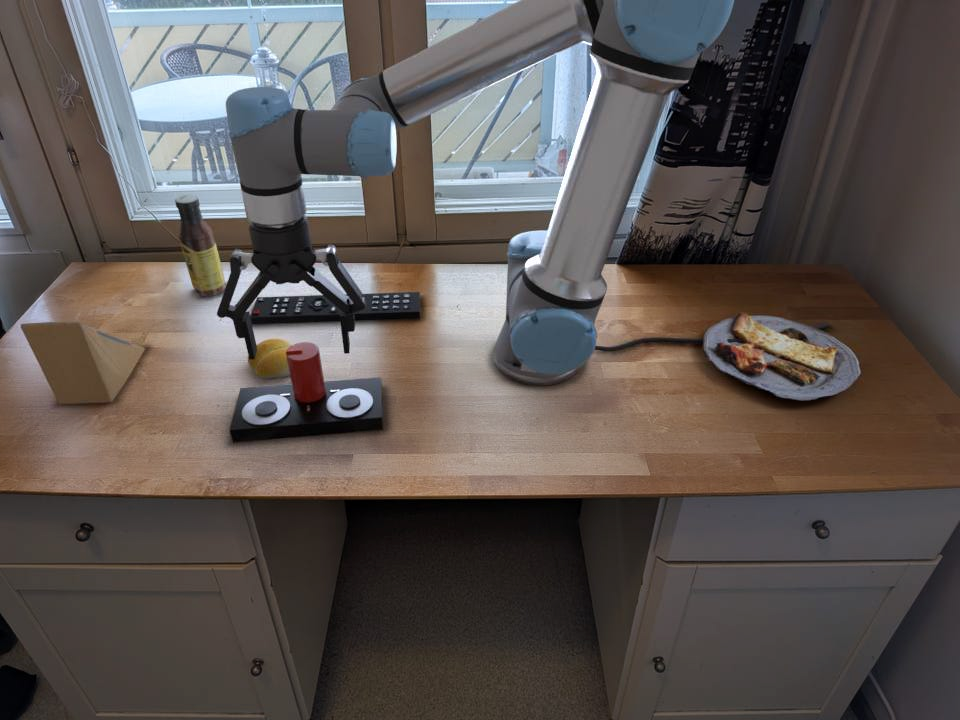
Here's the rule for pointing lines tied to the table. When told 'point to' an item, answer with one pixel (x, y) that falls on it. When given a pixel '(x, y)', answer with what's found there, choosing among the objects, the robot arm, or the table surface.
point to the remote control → (334, 308)
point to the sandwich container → (81, 360)
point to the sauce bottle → (199, 248)
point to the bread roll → (271, 359)
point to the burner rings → (278, 407)
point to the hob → (308, 413)
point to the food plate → (781, 356)
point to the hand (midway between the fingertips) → (300, 351)
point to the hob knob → (306, 372)
